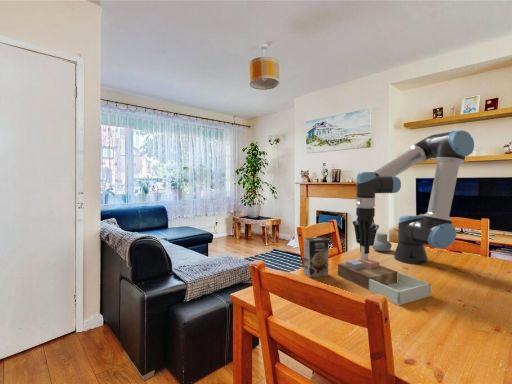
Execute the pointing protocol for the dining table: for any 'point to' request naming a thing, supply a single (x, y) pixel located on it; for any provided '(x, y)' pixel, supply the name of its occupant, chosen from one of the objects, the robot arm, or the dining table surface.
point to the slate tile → (355, 264)
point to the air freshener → (381, 243)
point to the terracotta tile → (370, 263)
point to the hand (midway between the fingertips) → (364, 260)
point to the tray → (402, 289)
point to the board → (368, 275)
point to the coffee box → (316, 256)
